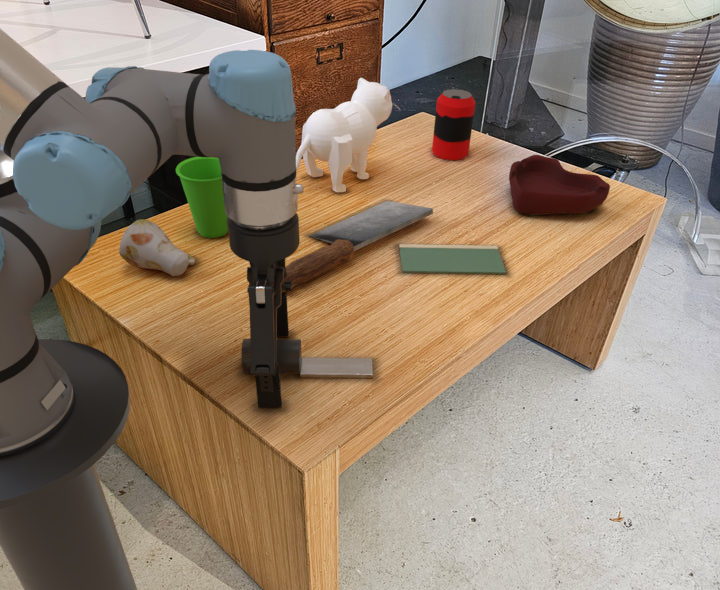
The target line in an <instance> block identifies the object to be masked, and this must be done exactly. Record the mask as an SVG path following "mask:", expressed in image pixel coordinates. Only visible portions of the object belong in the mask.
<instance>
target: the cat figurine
mask: <svg viewBox="0 0 720 590" xmlns="http://www.w3.org/2000/svg"><path fill="white" fill-rule="evenodd" d="M393 106H395V107H396V108H397V109H398V110H400V107H399V106H398V105H397V104H396V103H393V102H392V95H391V91H390V89H389V88H388V87H387V86H386V85H383V84H382V83H379V82H376V81H368V80H366V79H365V78H363V77H360V78H359V79H358V80H357V86H356V89H355V90H354V92H353V94H352V95H351V99H350V101H344V102H342V103H340V104H339V105H337V106H335V107H334V108H320V109H318V110H315V111H314V112H313V113H311V115H310V116H309V117H308V118H307V120H306V122H304V123H303V125H302V132H301V143H300V146H299V147H298V149H297V151H296V172H297V171H298V170H299V168H300V164H301V162H302V159H303V163H304V166H305V170H306V173H307V174H308V176H310V177H312V178H318V177H323V176H324V169H323V168H320V167H318V165H317V162H316V161H317V160H319V161H321V162H325V163H327V166H328V169H329V174H330V179H331V180H330V181H331V186H332V191H334V192H335V193H345V192H347V185H346V184H344V183H343V177H344V173H346V171H347V170H348V168H349V167H350V171H352V172H354V173H356V178H357V179H359V180H368V179H369V178H370V177H369V176H370V173H368V172H367V171H366V170H367V166H368V153H369V148H370V147H371V146H372V145H373V144H374V141H375V139H376V136H377V131H378V126H379V125H381V124H382V123H383V122H385V121H386V120H388V119H389V118H390V116H391V114H392V110H393Z"/></svg>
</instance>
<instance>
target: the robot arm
mask: <svg viewBox="0 0 720 590" xmlns="http://www.w3.org/2000/svg"><path fill="white" fill-rule="evenodd" d="M208 67H209V68H208V72H209V73H206V74H201V73H189V72H180V71H179V72H178V71H170V70H169V71H168V70H161V69H160V70H157V69H149V68H148V69H147V68H144V67H141V66H139V67H138V66H136V65H130V66H125V67H119V66H117V67H111V66H110V67H109V66H108V67H104V68H101V69H99V70H98V71H96V72H95V73H94V74H93V75H92V77H91V84H89V85H88V86H87V87H86V91H85V98H84V97H83V96H82V95H81V94H80V93H78V92H77V91H76V90H74V88H72V87H70V86H69V85H68V84H67V83H66V82H65V81H64V80H62V79H61V78H59V76H57V74H55V73H54V72H53V71H52V70H50V69H49V68H48V67H47V66H45V65H44V64H43V63H42V62H41V61H40V60H38V58H36V57H35V56H34V55H33V54H31V53H30V51H28V50H26V49H25V48H24V47H23V46H22V45H20V43H18V42H17V41H16V40H14V39H13V38H12V37H11V36H10V35H9V34H8V33H7V32H6V31H4V30H3V29H1V28H0V458H5V457H9V456H13V455H16V454H19V453H21V452H24V451H26V450H29V449H31V448H33V447H35V446H37V445H39V444H40V443H42V442H44V441H45V440H47V439H48V438H50V437H51V436H52V435H53V434H55V433H56V432H57V431H58V430H59V429H60V428H61V427H62V426H63V425H64V424H65V423H66V421H67V420H68V419H69V417H70V415H71V413H72V411H73V409H74V406H75V392H74V389H73V386H72V383H71V380H70V378H69V377H68V375H67V373H66V372H65V371H64V369H63V368H62V367H61V366H60V365H59V364H58V363H57V362H56V361H55V360H54V358H53V357H52V356H51V355H50V354H49V353H48V352H47V351H46V350H45V349H44V348H43V346H42V345H41V344H40V343H39V341H38V339H39V338H38V336H37V333H36V329H35V326H34V324H33V321H32V318H31V316H30V315H31V311H32V309H33V308H34V307H35V306H36V305H37V304H38V303H39V302H40V301H41V300H42V299H43V298H44V297H45V296H46V295H47V294H48V293H49V292H50V291H51V290H52V289H53V288H54V287H56V285H57V284H58V283H59V282H61V280H63V278H64V277H66V275H68V274H69V273H70V271H72V269H74V268H75V267H77V266H79V264H81V263H82V261H84V259H85V258H86V257H87V255H88V254H89V252H90V250H91V249H92V248H93V246H94V245H95V244H96V242H97V241H98V238H99V236H100V233H101V229H102V228H101V227H102V220H104V219H105V218H106V217H108V216H109V215H110V214H111V213H113V212H115V211H116V210H117V209H118V208H121V207H122V206H124V205H125V203H126V202H127V201H128V199H129V198H130V196H131V194H133V192H134V191H136V190H137V189H138V188H139V187H140V186H141V185H142V184H143V183H144V182H145V181H146V180H147V179H148V178H149V177H150V176H152V175H153V174H154V173H155V172H156V171H157V170H159V168H160V167H162V165H164V164H165V163H166V162H167V161H168V160H169V159H170V158H171V157H172V156H175V155H177V156H187V157H206V158H209V157H214V158H218V159H219V162H220V167H221V179H222V188H223V197H224V206H225V213H226V215H227V216H228V218H227V227H228V232H227V234H228V235H227V236H228V242H229V244H228V245H229V248H230V250H231V253H233V254H234V255H235V256H236V257H238V258H240V259H242V260H245V262H248V263H249V266H247V268H246V279H247V282H248V283H249V284H248V285H247V289H246V290H247V291H246V292H247V294H248V306H249V334H250V335H249V339H250V341H251V364H246V365H247V369H250V372H251V373H250V375H251V376H253V377H254V382H255V390H256V403H257V408H268V409H269V408H270V409H271V408H274V409H275V408H277V409H279V408H282V404H283V403H282V389H281V376H280V375H281V373H279V361H277V339H278V338H285V337H286V338H289V336H290V332H289V331H290V330H289V329H290V328H289V314H288V313H289V312H288V311H289V310H288V295H287V292H292V290H293V287H292V284H291V282H285V279H286V276H287V272H286V266H287V265H286V261H287V258H289V257H291V256H292V255H293V254H294V253H296V251H298V248H299V246H300V221H299V219H300V218H299V215H298V213H297V212H298V210H299V209H298V206H299V205H298V195H300V194H302V193H304V186H303V184H302V183H297V171H296V154H297V151H296V149H297V148H296V146H297V145H296V114H297V109H296V108H297V107H296V104H295V100H294V99H295V98H294V89H293V80H292V77H293V76H292V71H291V67H290V64H289V63H288V62H287V61H286V59H285V58H284V57H282V56H280V55H279V54H276V53H274V52H271V51H267V50H260V49H248V50H238V49H237V50H230V51H224V52H222V53H218V54H217V55H215V56H214V57H212V59H211V60H210V62H209V66H208Z"/></svg>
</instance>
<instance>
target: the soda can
mask: <svg viewBox="0 0 720 590" xmlns="http://www.w3.org/2000/svg"><path fill="white" fill-rule="evenodd" d="M475 110H476V101H475V99H474V97H473V95H472V93H471V92H469V91H467V90H464V89H456V88H454V89H446V90H443V91H442V93H441V94H440V95H439V96H438V98H437V99H436V108H435V116H434V127H433V135H432V137H433V138H432V145H431V152H432V154H433V155H434V156H435V157H437V158H438V159H442V160H445V161H459V160H463V159H465V158H466V157H467V156H468V155H469V153H470V145H471V139H472V138H471V137H472V132H473V131H472V130H473V124H474V116H475Z"/></svg>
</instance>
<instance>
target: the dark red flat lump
mask: <svg viewBox="0 0 720 590" xmlns="http://www.w3.org/2000/svg"><path fill="white" fill-rule="evenodd" d="M508 182H509V187H510V196H511V197H510V198H511V201H512V207H513V209H514V211H516V212H517V213H518V214H519V215H522V216H525V217H527V216H529V217H530V216H534V215H535V216H537V215H539V216H540V215H554V214H556V215H557V214H586V213H588V214H589V213H593V212H594V211H595V209H598V208H599V207H600V206H602V205H603V204H604V202H605V201H606V200H607V198H608V196H609V193H610V189H611V185H610V183H608V182H606V181H605V180H604V179H603V178H602V177H600V176H599V175H597V174H590V173H588V174H587V173H579V172H573V171H569V170H567V169H565V168H564V167H563V166H562V164H561V163H560V160H559V159H558V158H554V157H548V156H543V155H540V154H532V155H529V156H528V157H525V158H523V159H521V160H517V161H514V162H513V163H511V166H510V169H509V173H508Z"/></svg>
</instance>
